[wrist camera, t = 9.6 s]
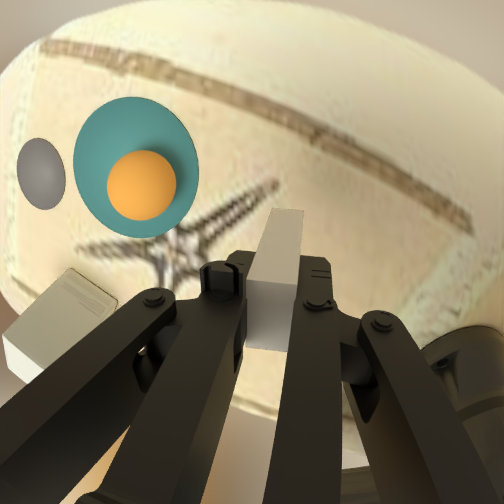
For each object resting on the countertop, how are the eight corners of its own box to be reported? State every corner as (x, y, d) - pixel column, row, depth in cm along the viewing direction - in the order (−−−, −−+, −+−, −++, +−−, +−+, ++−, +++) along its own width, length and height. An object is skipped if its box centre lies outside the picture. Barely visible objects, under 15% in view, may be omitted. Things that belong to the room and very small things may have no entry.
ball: (124, 151, 25) (179, 139, 24) (138, 210, 28) (192, 203, 26) (85, 166, 21) (145, 150, 19) (104, 234, 23) (164, 228, 21)
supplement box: (69, 265, 33) (0, 332, 21) (119, 300, 33) (59, 381, 22) (62, 304, 36) (5, 367, 25) (106, 335, 37) (56, 408, 26)
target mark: (196, 90, 22) (195, 90, 22) (202, 242, 28) (201, 243, 28) (68, 107, 24) (67, 107, 24) (85, 232, 30) (84, 233, 30)
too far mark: (60, 134, 25) (58, 134, 25) (70, 209, 29) (69, 210, 29) (13, 142, 26) (12, 143, 26) (25, 208, 30) (23, 209, 30)
